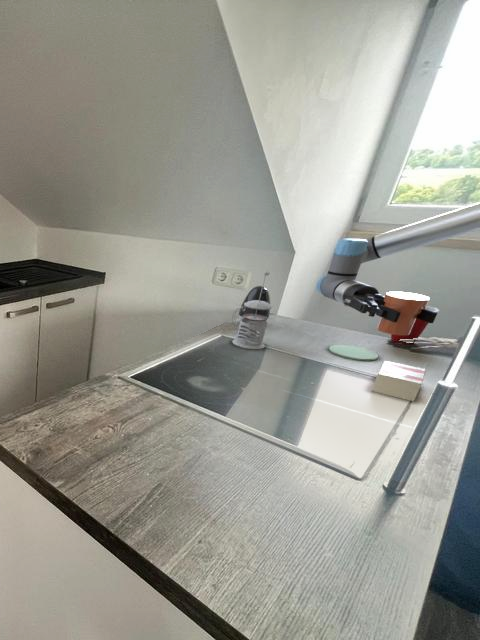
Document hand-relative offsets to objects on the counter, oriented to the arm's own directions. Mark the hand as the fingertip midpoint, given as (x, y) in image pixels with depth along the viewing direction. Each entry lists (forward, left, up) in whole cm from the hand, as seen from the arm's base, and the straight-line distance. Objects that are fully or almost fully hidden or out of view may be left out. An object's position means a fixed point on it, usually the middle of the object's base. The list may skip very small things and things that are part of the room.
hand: (415, 317), depth 100 cm
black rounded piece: (+21, -45, -18) cm, 53 cm away
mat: (-1, -20, -18) cm, 27 cm away
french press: (+29, -23, -18) cm, 41 cm away
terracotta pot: (0, -5, -5) cm, 7 cm away
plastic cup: (-22, -35, -18) cm, 45 cm away
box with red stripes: (+1, +5, -18) cm, 19 cm away
